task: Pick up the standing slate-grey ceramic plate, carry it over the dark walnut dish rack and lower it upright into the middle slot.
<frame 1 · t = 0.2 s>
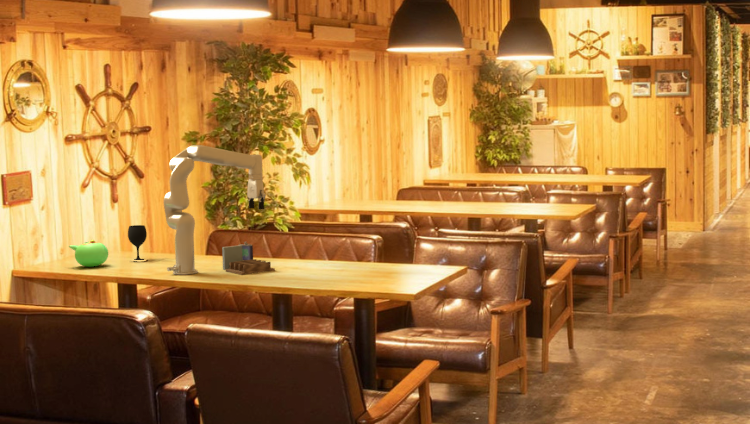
hand: (256, 208, 519), 31 cm above the table, fingers open, 9 cm apart
rack: (250, 271, 498), on the table
green teapot: (91, 267, 523), on the table
wine glass: (138, 261, 543), on the table
plate: (232, 268, 508), on the table
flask: (246, 260, 538), on the table
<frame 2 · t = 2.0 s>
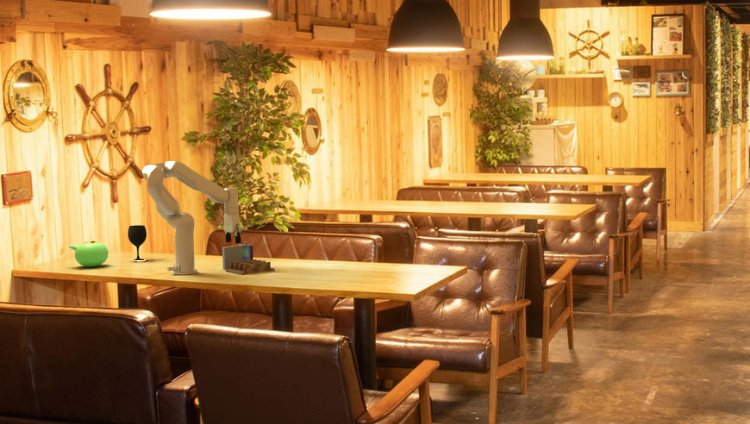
hand: (233, 242, 507), 14 cm above the table, fingers open, 9 cm apart
nothing on the table moved.
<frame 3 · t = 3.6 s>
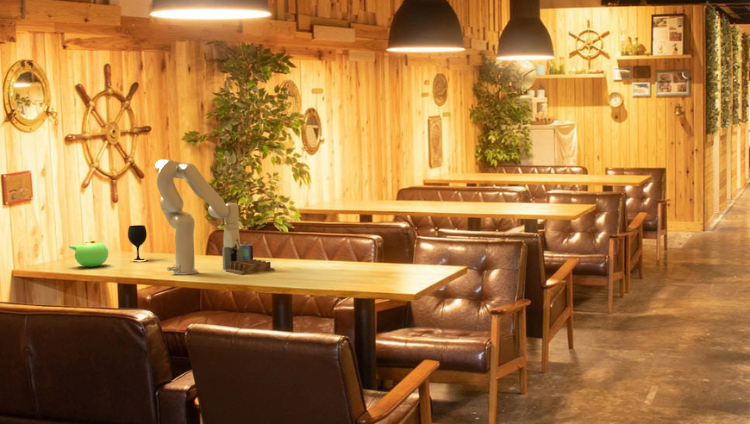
hand: (232, 260, 507), 4 cm above the table, fingers closed on plate, 2 cm apart
plate: (232, 268, 508), on the table, touching gripper
everything else where it was.
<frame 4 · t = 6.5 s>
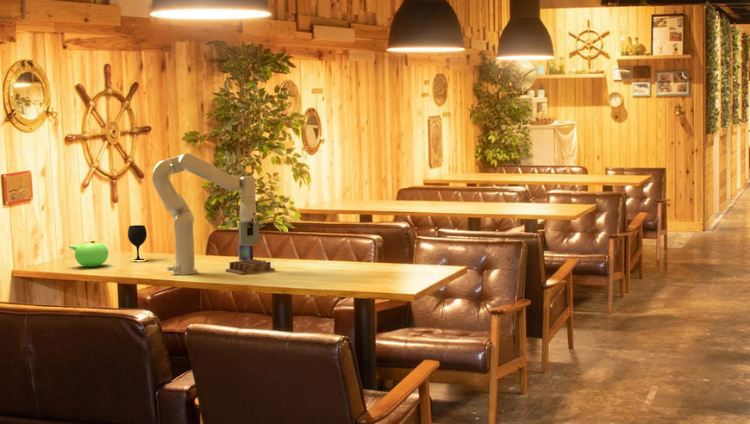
hand: (249, 234, 496), 19 cm above the table, fingers closed on plate
plate: (249, 244, 497), point 14 cm above the table, touching gripper
everything else where it was.
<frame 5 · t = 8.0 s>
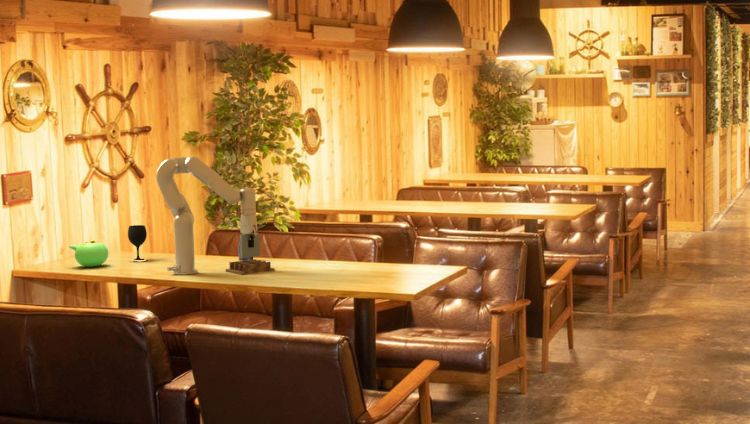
hand: (249, 246, 497), 13 cm above the table, fingers closed on plate
plate: (250, 256, 497), point 7 cm above the table, touching gripper
everything else where it was.
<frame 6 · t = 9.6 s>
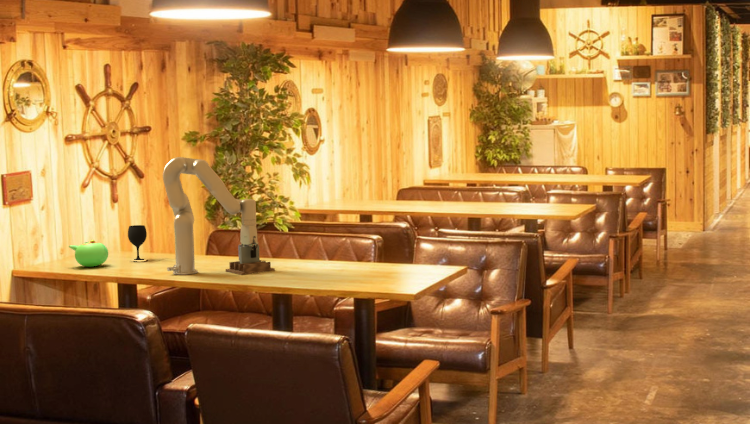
hand: (249, 256, 497), 8 cm above the table, fingers open, 6 cm apart
plate: (249, 268, 498), point 1 cm above the table, touching rack
everything else where it was.
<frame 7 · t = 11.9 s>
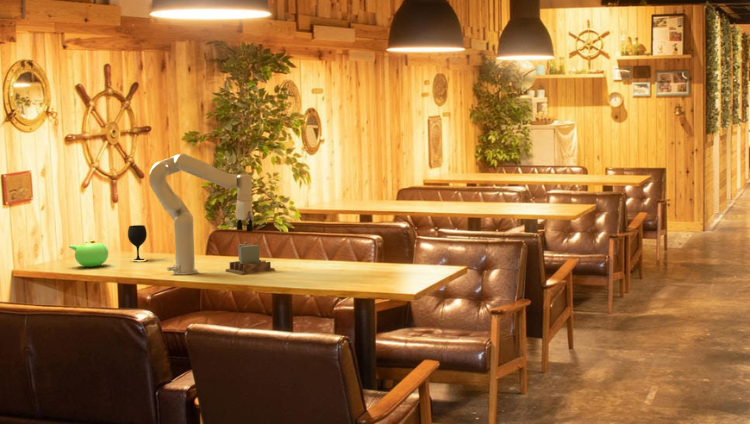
hand: (244, 230, 497), 21 cm above the table, fingers open, 9 cm apart
nothing on the table moved.
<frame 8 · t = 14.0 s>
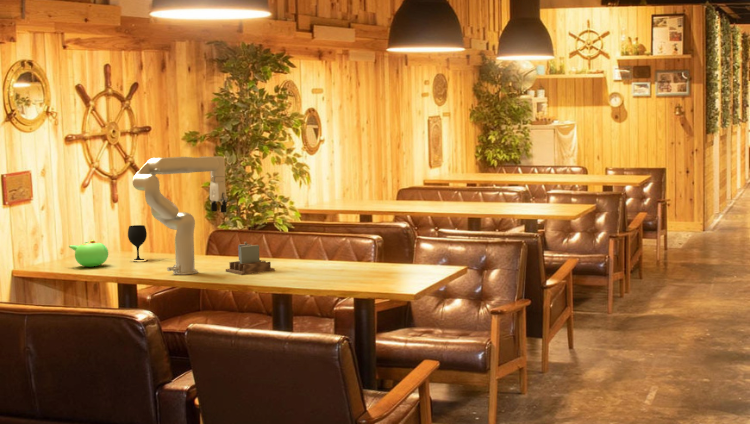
hand: (218, 211, 507), 30 cm above the table, fingers open, 9 cm apart
nothing on the table moved.
at the end: plate 0.1 cm off-centre on the rack, point 1.2 cm above the rack's base; plate tilted 0°; the gripper is holding nothing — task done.
